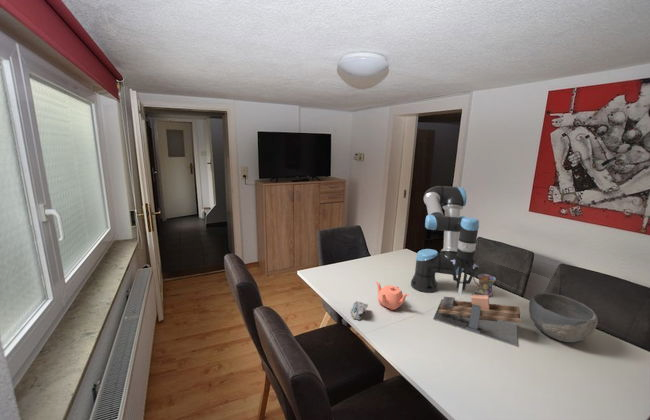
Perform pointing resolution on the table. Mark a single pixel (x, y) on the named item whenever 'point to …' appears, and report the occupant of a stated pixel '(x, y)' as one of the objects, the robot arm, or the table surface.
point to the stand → (481, 325)
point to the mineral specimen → (358, 310)
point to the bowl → (562, 317)
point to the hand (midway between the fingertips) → (459, 294)
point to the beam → (494, 314)
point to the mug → (485, 284)
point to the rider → (481, 301)
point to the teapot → (390, 296)
